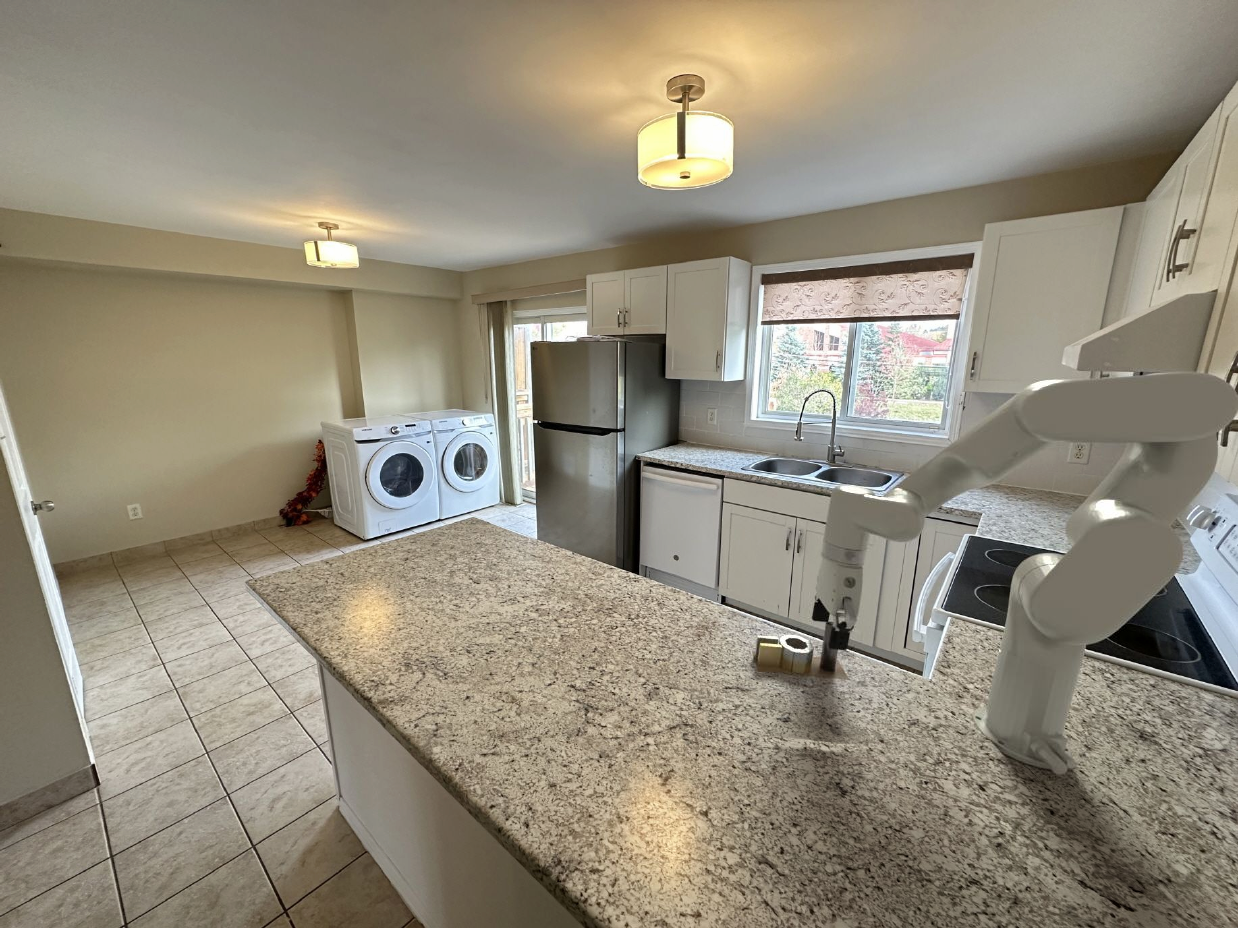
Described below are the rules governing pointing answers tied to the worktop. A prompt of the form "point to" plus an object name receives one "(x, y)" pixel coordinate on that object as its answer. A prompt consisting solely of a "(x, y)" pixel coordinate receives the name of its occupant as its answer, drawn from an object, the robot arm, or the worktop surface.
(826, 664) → the hinge pin
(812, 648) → the hinge
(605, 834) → the worktop surface
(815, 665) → the base board
